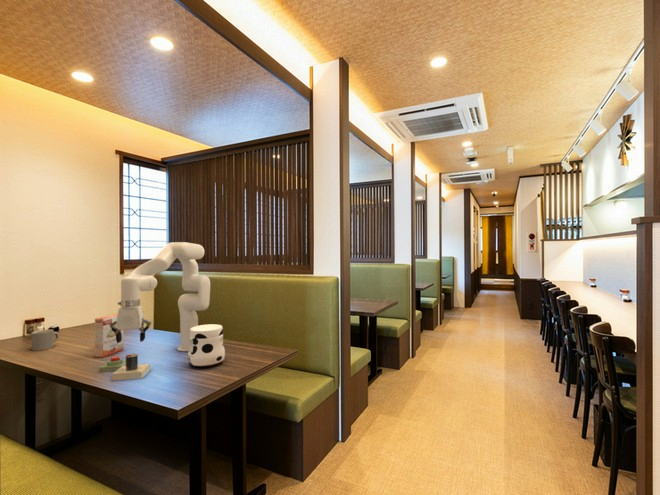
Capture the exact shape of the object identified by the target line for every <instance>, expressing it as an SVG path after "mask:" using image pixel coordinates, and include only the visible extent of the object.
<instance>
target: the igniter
mask: <svg viewBox="0 0 660 495" xmlns="http://www.w3.org/2000/svg"><path fill="white" fill-rule="evenodd" d="M122 366H126V360H124V358H123V357H119V360H118V361H113V362H111V358H110V359H107V361H106V362H105V363H104V364H102V365H101V366H100V367H99V373H102V372H115V371H117V370H118V369H119V368H121V367H122Z"/></svg>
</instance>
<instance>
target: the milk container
mask: <svg viewBox="0 0 660 495" xmlns="http://www.w3.org/2000/svg"><path fill="white" fill-rule="evenodd" d="M187 352H188V353H187V360H188V363H189V365H190V366H192V367H196V368H207V367H208V368H209V367H214V366H216V365H219V364H221V363H223V361H224V360H225V357H226V350H225V346H224V328H223V325H221V324H214V323H213V324H212V323H211V324H200V325H198V326H195V327H192V328H191V329H190V349H189V351H187Z"/></svg>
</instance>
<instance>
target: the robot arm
mask: <svg viewBox="0 0 660 495" xmlns="http://www.w3.org/2000/svg"><path fill="white" fill-rule="evenodd" d="M204 256H205V249H204V247H203V245H201V244H199V243H192V242H185V241H175V242H168V243H166V244H165V245H164V246H163V247H162V248H161V249H160V251H159V252H158V253H157V254H156V255H155V256H154V257H153V258H152V259H150V260H148V261H146V262H144V263H142V264H139V265H138V266H137V267H136V268H134V269H133V270H132V271H131V272H130V273H129V275H127V276H125V277H122V278H121V279H120V301H118V302H117V305H118V306H119V307H118V310H117V314H118V315H117V321H115V322H113V323H111V324H110V325H109V326H110V327H111V329H112V331H113V332H114V333H115V334H116V341H117V343H119V342H121V341H122V333H120V332H121V330H123V331H130V330H131V331H132V330H134V331H135V330H138V331H140V333H139V342H140V343H141V342H143V341H145V339H146V332H147V331H148V330H149V329H150V327H151V325H152V322H151V320H147V319H146V318H144V311H143V306H142V305H141V292H151V291H153V290H154V289H155V288H157V286H158V280H157V278H156V277H154V275H155V274H159V273H162V272H165V271H167V270H168V269H169V268H170V267H171V265H172V264H173V263H174V262H175V261H176V260H177V259H178V261H179V262H180V264H181V267H182V273H181V274H182V276H181V277H182V278H181V288H182V290H183V291H185V292H197V293H184V294H182V295H180V296H179V297H178V300H177V306H178V311H179V338H180V342H179V343H180V344H179V346H178V347H177V351H179V352H189V349H190V329H191V328H192V327H195V326H199V316H198V313H197V311H199V312H203V311H206V310H207V309H208V308H209V306H210V301H211V299H210V298H211V280H210V277H208V275H205V274H199V265H198V262H197V261H196V260H201V259H202V258H203V257H204ZM115 324H117V325H116V327H117V328H116V327H115V326H114V325H115ZM145 325H146V326H145Z"/></svg>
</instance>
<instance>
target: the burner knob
mask: <svg viewBox="0 0 660 495" xmlns="http://www.w3.org/2000/svg"><path fill="white" fill-rule="evenodd" d="M125 361H126V370H128V371H129V370H135V369H137V368H138V365H139V354H138V353H130V354H126V355H125Z"/></svg>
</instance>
